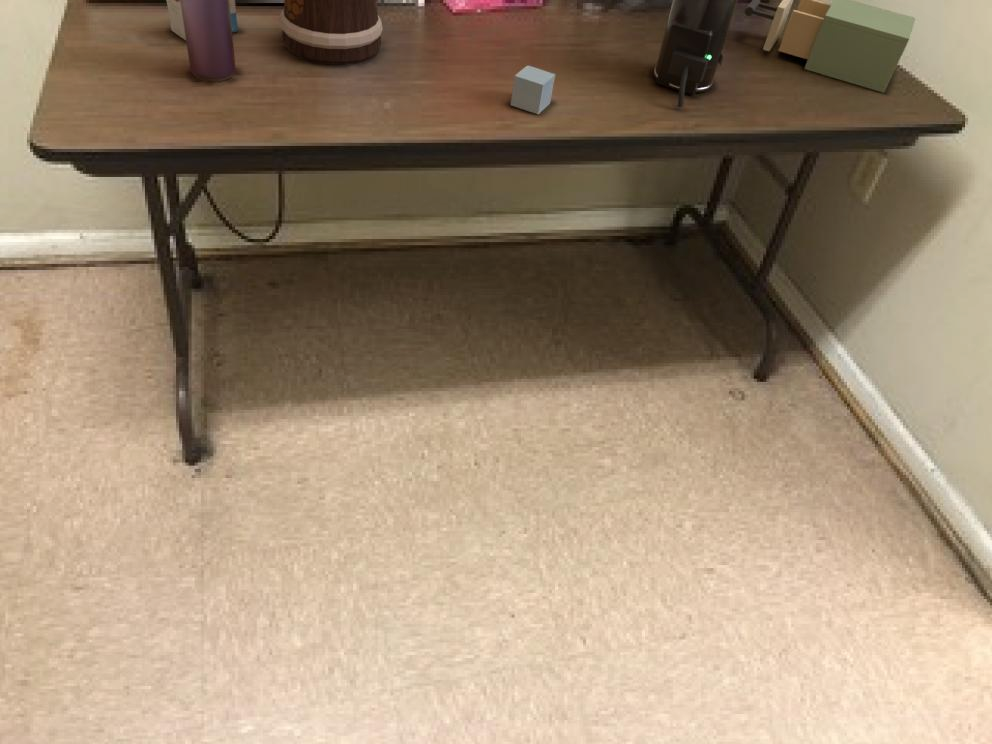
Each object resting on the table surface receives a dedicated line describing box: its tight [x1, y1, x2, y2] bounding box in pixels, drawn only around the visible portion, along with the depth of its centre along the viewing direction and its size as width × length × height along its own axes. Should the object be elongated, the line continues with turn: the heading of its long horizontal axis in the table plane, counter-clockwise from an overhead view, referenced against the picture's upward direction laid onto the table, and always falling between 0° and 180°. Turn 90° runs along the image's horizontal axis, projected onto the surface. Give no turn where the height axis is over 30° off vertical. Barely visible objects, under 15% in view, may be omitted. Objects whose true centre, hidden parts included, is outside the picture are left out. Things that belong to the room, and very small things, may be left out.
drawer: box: [744, 0, 832, 60], centre depth 142 cm, size 18×10×7 cm, turn 64°
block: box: [510, 65, 556, 115], centre depth 116 cm, size 4×4×4 cm
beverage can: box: [180, 0, 237, 83], centre depth 107 cm, size 6×6×15 cm
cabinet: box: [804, 0, 916, 94], centre depth 139 cm, size 14×12×9 cm
